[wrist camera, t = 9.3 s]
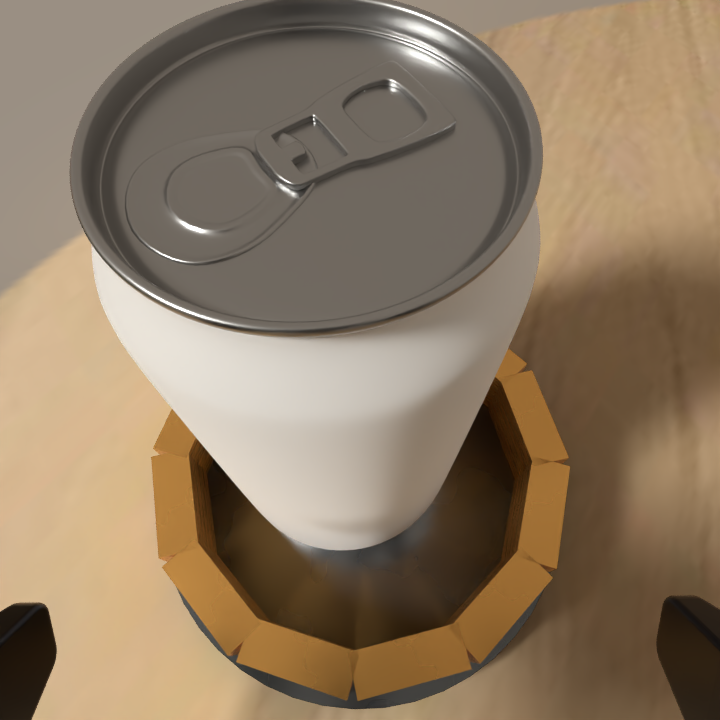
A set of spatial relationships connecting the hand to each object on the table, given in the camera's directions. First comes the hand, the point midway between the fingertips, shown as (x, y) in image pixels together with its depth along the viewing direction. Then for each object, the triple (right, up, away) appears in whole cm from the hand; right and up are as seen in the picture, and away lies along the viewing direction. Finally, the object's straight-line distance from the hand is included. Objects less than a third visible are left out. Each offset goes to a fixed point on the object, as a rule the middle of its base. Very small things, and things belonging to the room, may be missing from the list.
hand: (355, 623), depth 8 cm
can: (0, +1, +9) cm, 9 cm away
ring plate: (0, 0, +10) cm, 10 cm away
